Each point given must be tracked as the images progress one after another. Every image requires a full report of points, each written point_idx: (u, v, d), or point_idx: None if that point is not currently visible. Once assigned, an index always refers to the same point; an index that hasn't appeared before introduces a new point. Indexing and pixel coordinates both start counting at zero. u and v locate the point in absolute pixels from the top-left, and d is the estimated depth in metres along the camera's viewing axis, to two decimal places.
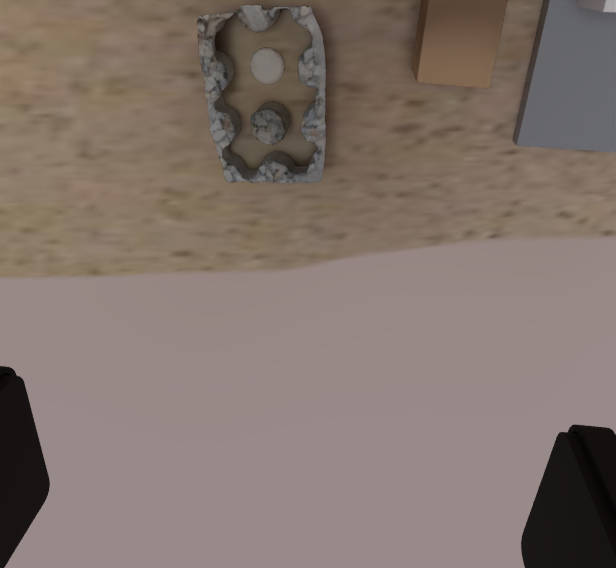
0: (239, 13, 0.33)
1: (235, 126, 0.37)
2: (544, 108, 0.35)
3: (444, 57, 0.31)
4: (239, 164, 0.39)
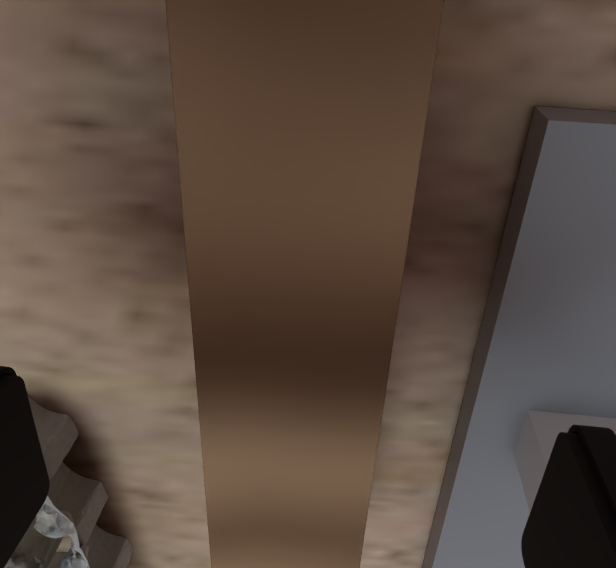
0: None
1: None
2: (465, 565, 0.20)
3: None
4: None
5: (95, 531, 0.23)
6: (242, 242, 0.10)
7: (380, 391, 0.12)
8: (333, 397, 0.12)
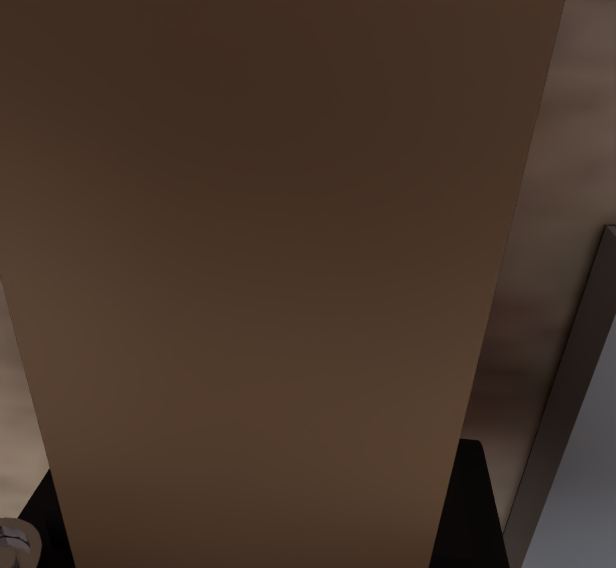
0: None
1: None
2: None
3: None
4: None
5: None
6: (157, 519, 0.06)
7: None
8: None
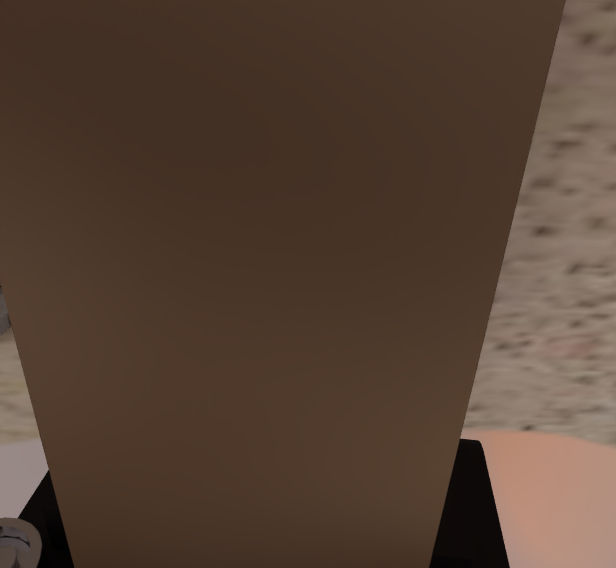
0: None
1: None
2: None
3: None
4: None
5: None
6: (156, 526, 0.06)
7: None
8: None
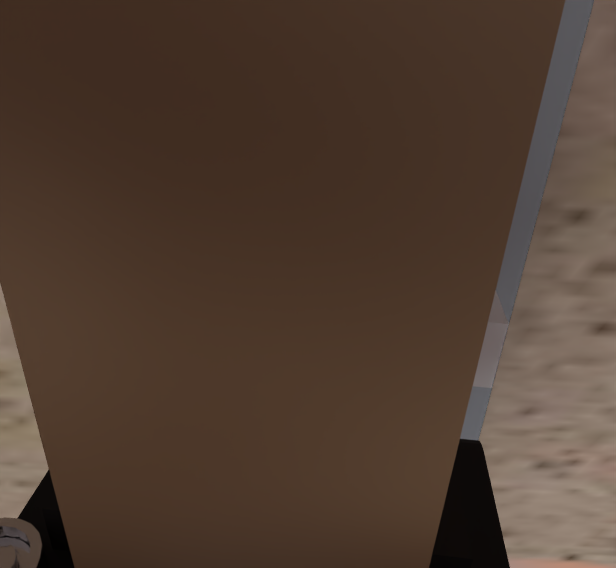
0: None
1: None
2: None
3: None
4: None
5: None
6: (156, 525, 0.06)
7: None
8: None
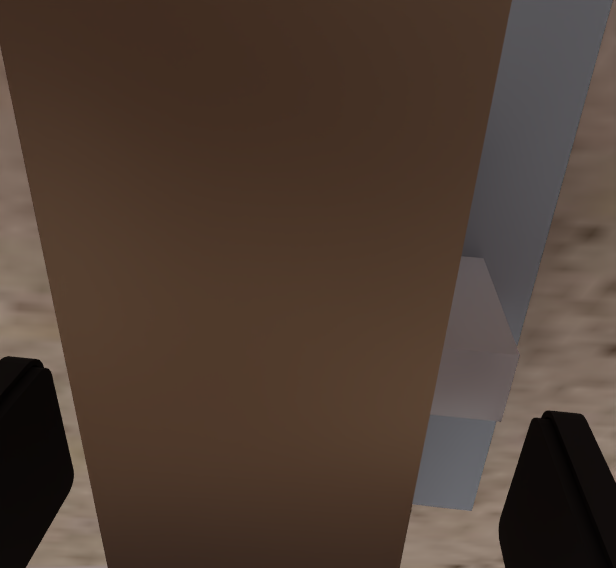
0: None
1: None
2: None
3: None
4: None
5: None
6: (169, 454, 0.07)
7: None
8: None
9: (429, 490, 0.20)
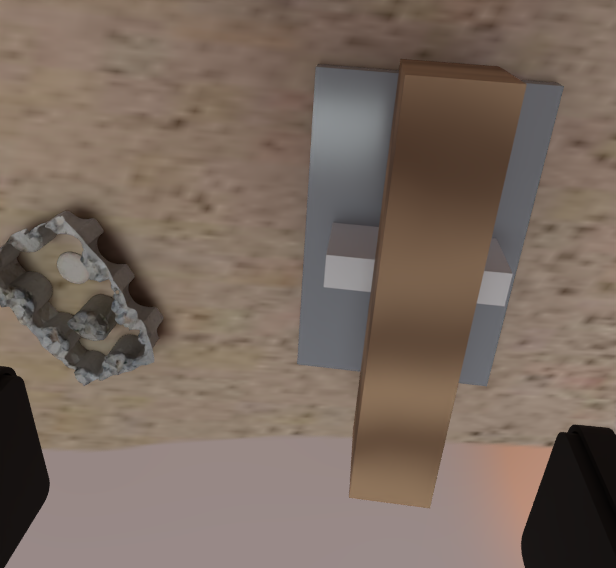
0: (11, 243, 0.34)
1: (65, 334, 0.37)
2: (317, 334, 0.35)
3: (377, 480, 0.28)
4: (92, 362, 0.38)
5: (135, 305, 0.37)
6: (405, 280, 0.22)
7: (462, 355, 0.24)
8: (437, 358, 0.24)
9: (463, 373, 0.35)
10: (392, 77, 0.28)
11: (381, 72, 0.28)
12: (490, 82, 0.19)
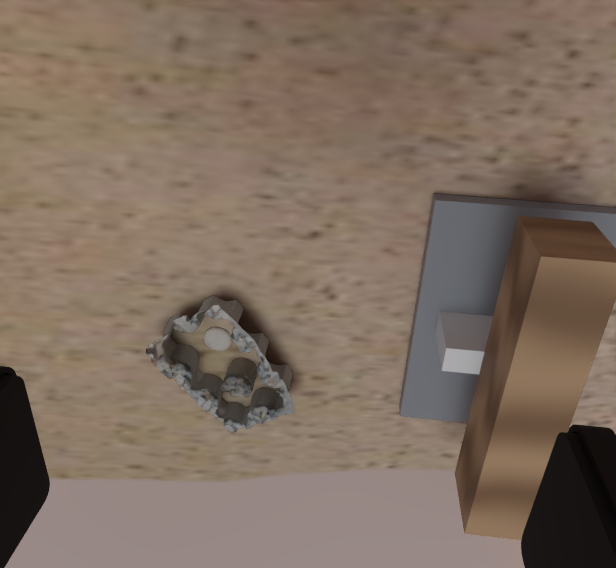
0: (174, 327, 0.42)
1: (215, 393, 0.45)
2: (418, 393, 0.43)
3: (489, 521, 0.36)
4: (234, 412, 0.46)
5: (270, 364, 0.45)
6: (526, 385, 0.30)
7: None
8: (545, 437, 0.32)
9: None
10: (496, 208, 0.35)
11: (487, 204, 0.36)
12: (602, 262, 0.27)
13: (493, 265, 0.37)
